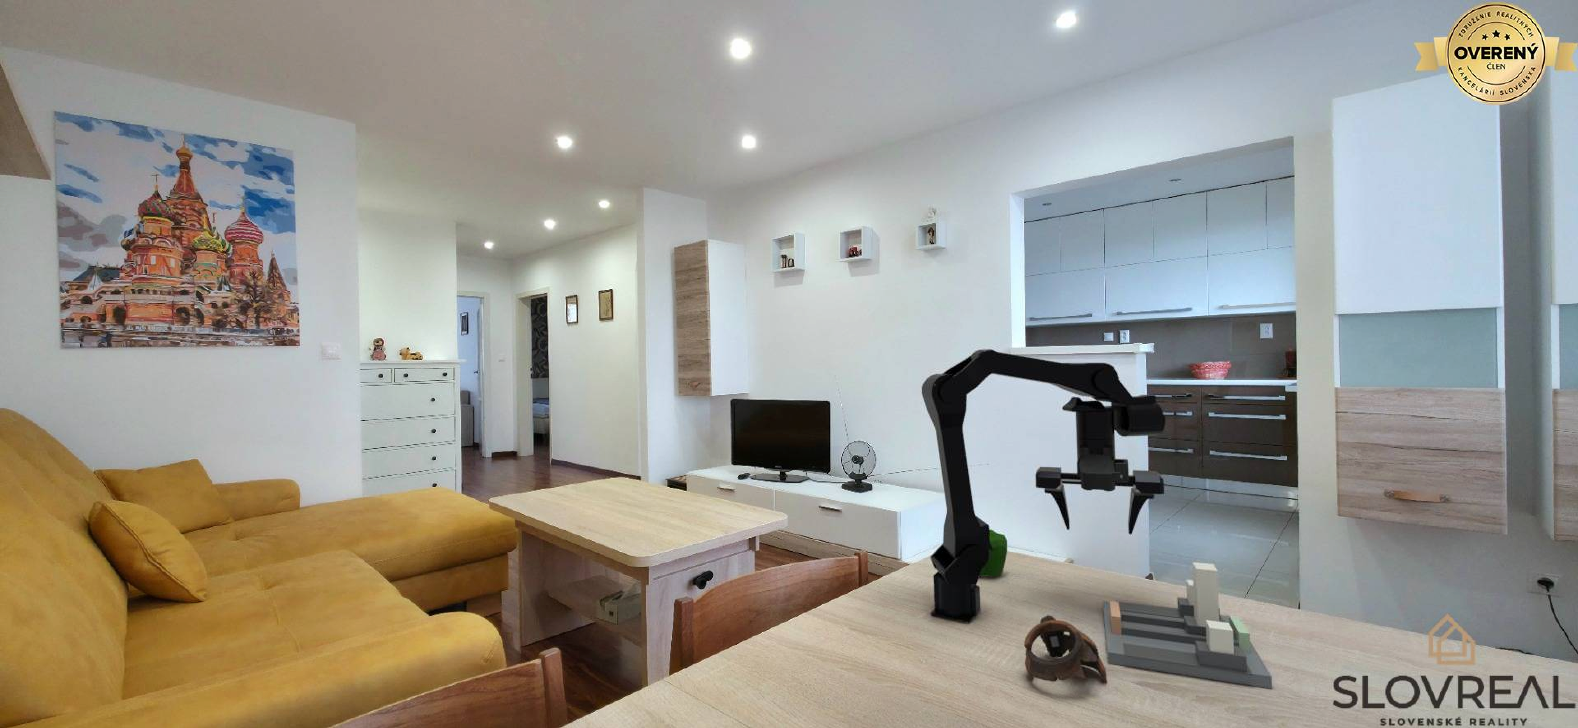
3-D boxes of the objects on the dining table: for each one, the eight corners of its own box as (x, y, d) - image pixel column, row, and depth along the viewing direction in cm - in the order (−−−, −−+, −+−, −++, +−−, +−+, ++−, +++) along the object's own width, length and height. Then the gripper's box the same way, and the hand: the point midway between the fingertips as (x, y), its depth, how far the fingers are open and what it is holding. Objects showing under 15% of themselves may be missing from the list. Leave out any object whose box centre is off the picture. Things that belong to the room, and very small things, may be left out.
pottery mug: (1127, 698, 76) (1102, 649, 74) (1056, 729, 77) (1030, 681, 75) (1082, 632, 88) (1059, 588, 86) (1021, 660, 89) (997, 617, 87)
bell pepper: (1005, 567, 123) (1003, 517, 123) (1010, 582, 115) (1008, 528, 115) (962, 565, 125) (960, 516, 125) (963, 580, 117) (962, 527, 117)
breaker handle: (1188, 639, 86) (1185, 568, 86) (1184, 629, 89) (1182, 560, 89) (1231, 645, 84) (1228, 572, 84) (1225, 634, 87) (1223, 564, 87)
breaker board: (1108, 664, 83) (1106, 616, 83) (1102, 609, 101) (1101, 569, 101) (1272, 690, 76) (1271, 637, 76) (1235, 625, 94) (1234, 583, 94)
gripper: (1031, 442, 99) (1035, 539, 99) (1167, 445, 91) (1170, 551, 91) (1036, 434, 109) (1039, 522, 109) (1158, 436, 101) (1161, 531, 101)
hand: (1098, 531), depth 102 cm, fingers open, 9 cm apart
